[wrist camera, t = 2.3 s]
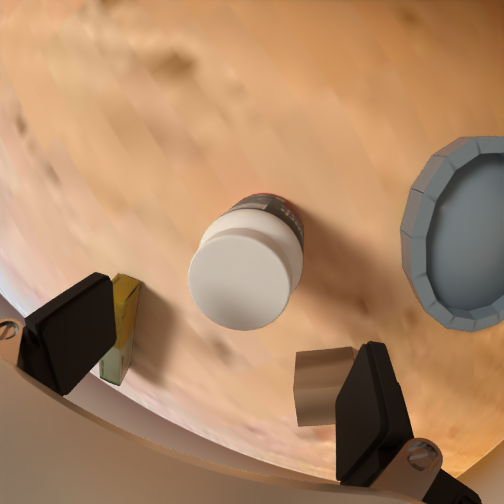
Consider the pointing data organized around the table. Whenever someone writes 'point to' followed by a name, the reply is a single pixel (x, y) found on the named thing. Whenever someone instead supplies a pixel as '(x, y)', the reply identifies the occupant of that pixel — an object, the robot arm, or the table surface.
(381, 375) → the robot arm
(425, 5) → the table surface
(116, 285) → the medication box
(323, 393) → the walnut block
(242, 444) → the table surface
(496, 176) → the dish
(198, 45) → the table surface
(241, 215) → the pill bottle
